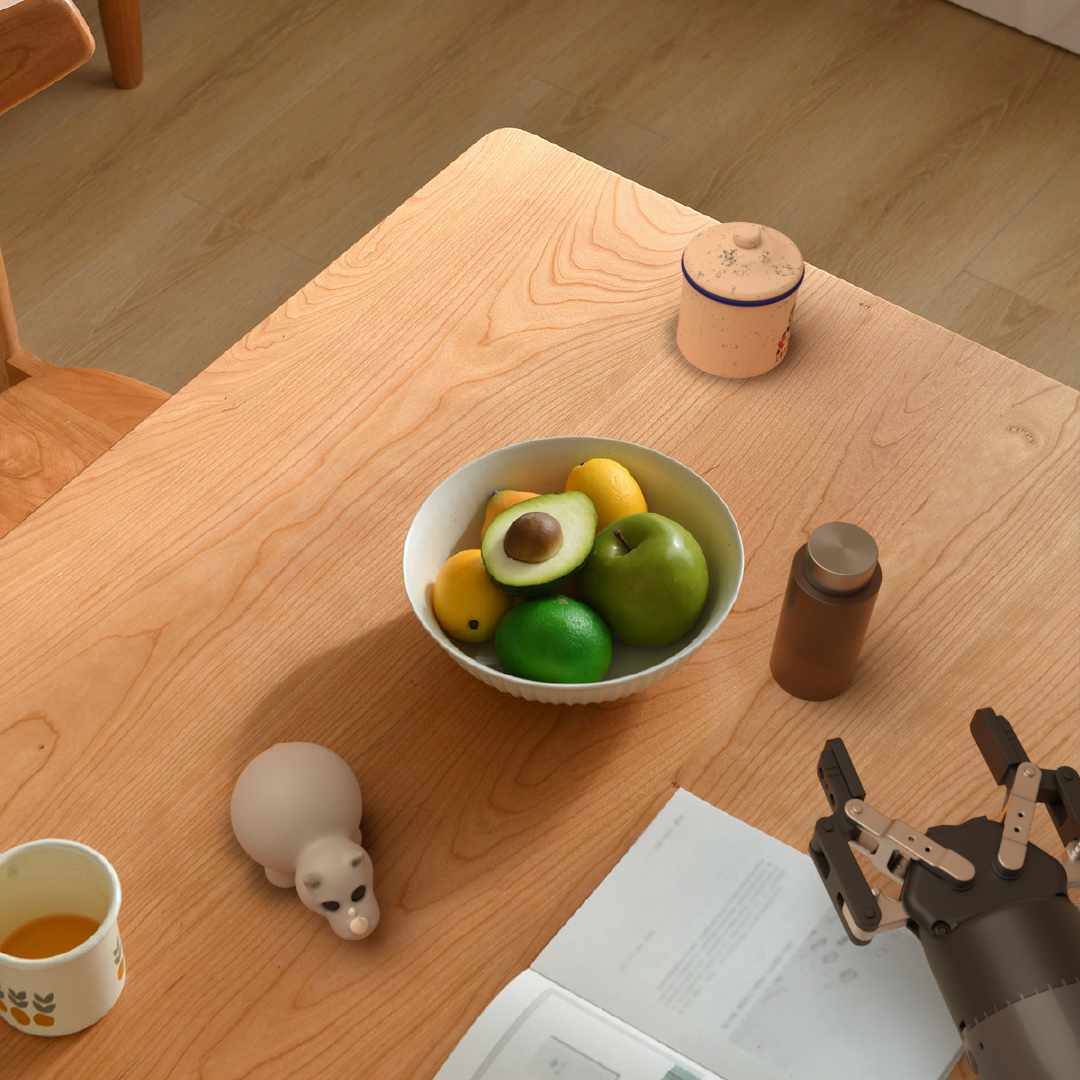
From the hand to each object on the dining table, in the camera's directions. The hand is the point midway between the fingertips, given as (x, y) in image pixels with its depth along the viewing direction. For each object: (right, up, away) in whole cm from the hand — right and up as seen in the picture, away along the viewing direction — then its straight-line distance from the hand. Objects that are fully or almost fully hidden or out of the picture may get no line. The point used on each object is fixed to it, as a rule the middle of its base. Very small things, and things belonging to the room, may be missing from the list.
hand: (904, 730), depth 73 cm
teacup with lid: (-5, +26, +35) cm, 44 cm away
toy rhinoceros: (-32, -10, +5) cm, 34 cm away
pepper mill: (-2, +1, +14) cm, 15 cm away
